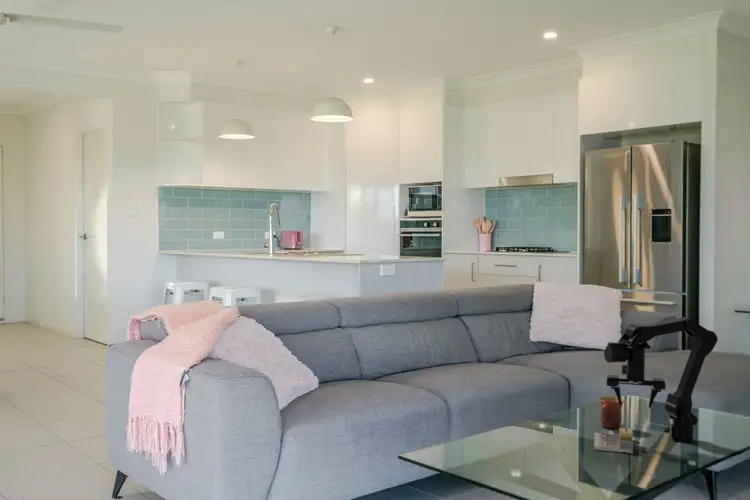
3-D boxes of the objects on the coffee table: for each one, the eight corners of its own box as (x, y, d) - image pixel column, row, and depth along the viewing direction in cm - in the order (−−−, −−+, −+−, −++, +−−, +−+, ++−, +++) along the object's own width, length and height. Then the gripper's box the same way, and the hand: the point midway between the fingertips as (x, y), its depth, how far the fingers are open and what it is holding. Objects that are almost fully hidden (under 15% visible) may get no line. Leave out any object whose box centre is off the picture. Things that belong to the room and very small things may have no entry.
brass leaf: (631, 440, 249) (632, 427, 249) (632, 445, 243) (632, 432, 243) (619, 438, 250) (619, 426, 250) (619, 444, 244) (619, 431, 244)
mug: (603, 422, 275) (603, 395, 274) (626, 426, 269) (627, 398, 269) (591, 429, 265) (591, 401, 265) (615, 434, 260) (616, 405, 259)
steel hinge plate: (630, 439, 254) (631, 430, 254) (632, 453, 239) (632, 443, 238) (594, 436, 257) (594, 427, 257) (594, 449, 242) (594, 440, 242)
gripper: (663, 359, 254) (662, 403, 255) (606, 355, 260) (606, 399, 261) (666, 365, 244) (665, 411, 244) (607, 361, 249) (606, 407, 250)
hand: (634, 407), depth 250 cm, fingers open, 9 cm apart
